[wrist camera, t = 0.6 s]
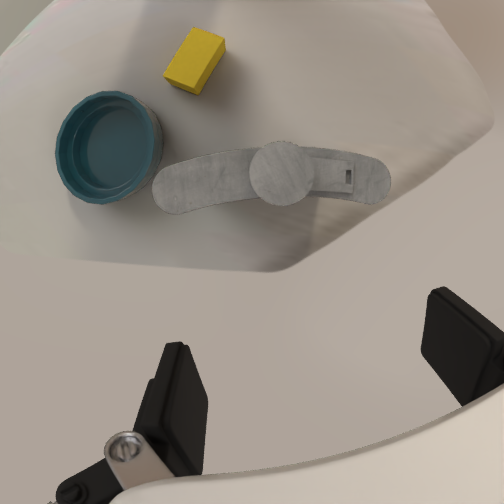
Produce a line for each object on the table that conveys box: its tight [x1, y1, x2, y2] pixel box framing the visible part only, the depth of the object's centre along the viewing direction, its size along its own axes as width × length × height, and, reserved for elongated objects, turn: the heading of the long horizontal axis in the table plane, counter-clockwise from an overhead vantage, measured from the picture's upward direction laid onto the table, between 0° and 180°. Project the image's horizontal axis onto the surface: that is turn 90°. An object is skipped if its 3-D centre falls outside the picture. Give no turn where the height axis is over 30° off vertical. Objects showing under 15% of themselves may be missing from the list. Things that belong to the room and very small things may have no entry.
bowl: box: [55, 91, 163, 204], centre depth 31 cm, size 13×13×4 cm
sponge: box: [163, 27, 226, 95], centre depth 28 cm, size 7×4×4 cm, turn 153°
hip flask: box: [152, 141, 391, 214], centre depth 25 cm, size 16×4×20 cm, turn 93°
